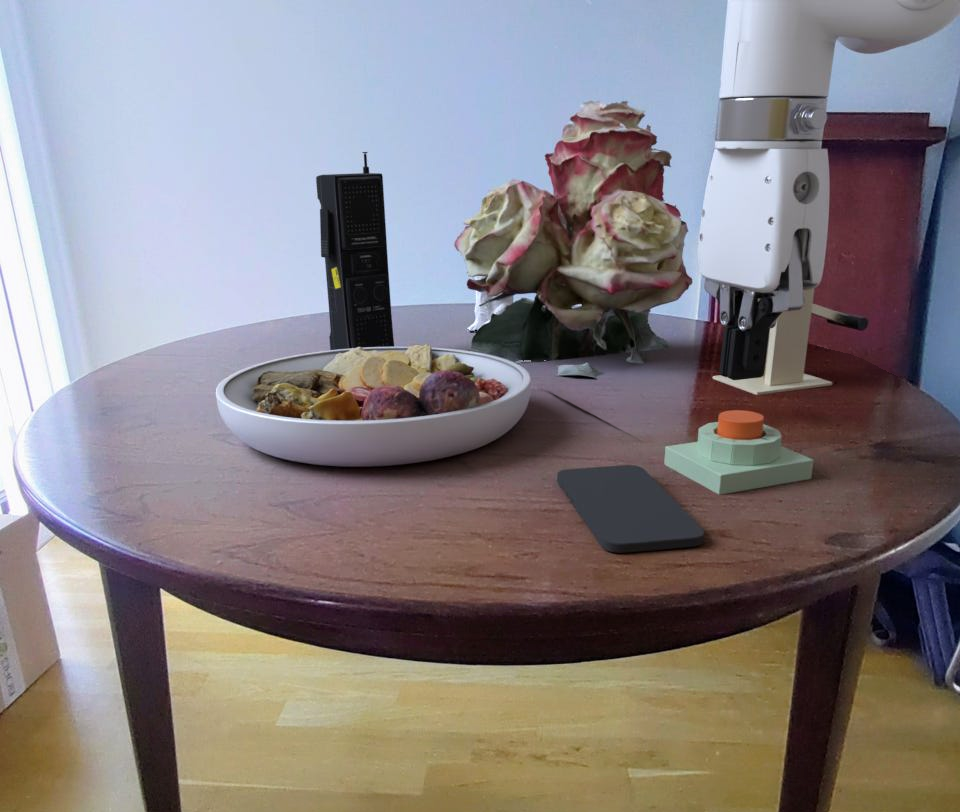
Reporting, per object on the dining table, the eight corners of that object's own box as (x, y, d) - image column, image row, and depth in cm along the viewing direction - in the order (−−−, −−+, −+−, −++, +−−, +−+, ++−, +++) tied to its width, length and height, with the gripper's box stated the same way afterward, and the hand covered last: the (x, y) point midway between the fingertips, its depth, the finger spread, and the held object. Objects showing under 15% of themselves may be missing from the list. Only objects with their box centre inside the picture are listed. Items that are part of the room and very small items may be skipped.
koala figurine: (460, 334, 132) (458, 249, 127) (463, 326, 138) (461, 244, 134) (517, 334, 132) (518, 248, 127) (518, 325, 138) (518, 243, 133)
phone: (606, 545, 60) (553, 470, 74) (605, 556, 61) (552, 479, 74) (711, 536, 62) (640, 463, 75) (710, 547, 62) (639, 473, 75)
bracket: (783, 377, 106) (795, 273, 101) (831, 392, 99) (847, 282, 94) (711, 386, 102) (720, 279, 98) (755, 403, 96) (768, 289, 91)
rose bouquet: (433, 364, 115) (423, 103, 103) (588, 332, 132) (595, 106, 121) (583, 402, 97) (592, 92, 85) (739, 359, 115) (764, 97, 103)
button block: (750, 451, 81) (754, 413, 79) (811, 479, 74) (816, 438, 73) (663, 464, 78) (666, 425, 76) (719, 495, 71) (722, 453, 70)
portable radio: (346, 369, 113) (330, 153, 103) (322, 362, 117) (304, 153, 107) (398, 360, 117) (388, 151, 107) (373, 353, 122) (360, 152, 112)
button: (743, 428, 77) (745, 408, 76) (771, 439, 74) (773, 419, 73) (708, 433, 76) (709, 413, 75) (734, 445, 73) (736, 424, 72)
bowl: (171, 425, 91) (159, 347, 88) (412, 376, 109) (409, 310, 106) (326, 507, 70) (318, 408, 67) (594, 430, 88) (597, 349, 84)
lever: (831, 328, 104) (839, 308, 103) (863, 336, 100) (872, 314, 99) (752, 302, 99) (760, 280, 98) (782, 309, 94) (790, 286, 94)
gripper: (886, 126, 60) (844, 394, 68) (748, 129, 73) (724, 354, 80) (795, 126, 58) (761, 404, 65) (668, 128, 71) (651, 361, 78)
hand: (741, 376), depth 73 cm, fingers closed
